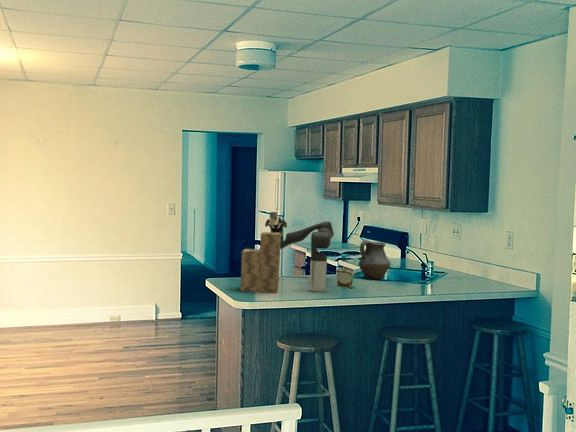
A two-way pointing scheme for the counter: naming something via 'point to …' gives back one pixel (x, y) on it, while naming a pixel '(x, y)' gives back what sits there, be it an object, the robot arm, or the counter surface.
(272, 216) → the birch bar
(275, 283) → the walnut step stand
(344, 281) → the food container
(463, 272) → the counter surface
